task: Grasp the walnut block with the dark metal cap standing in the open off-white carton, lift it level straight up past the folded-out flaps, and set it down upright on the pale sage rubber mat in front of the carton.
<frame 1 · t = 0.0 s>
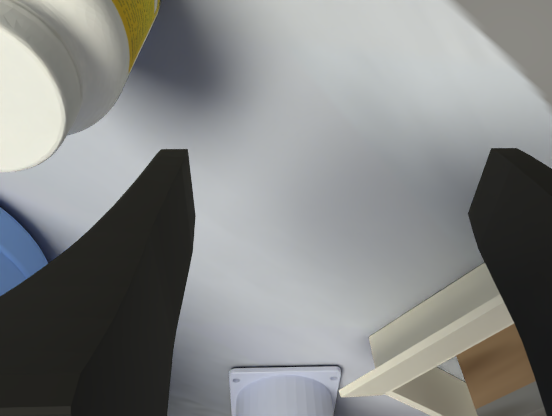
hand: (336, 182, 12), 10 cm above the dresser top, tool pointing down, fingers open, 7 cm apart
walnut block: (515, 373, 31), in the carton
carton: (495, 327, 33), on the dresser top
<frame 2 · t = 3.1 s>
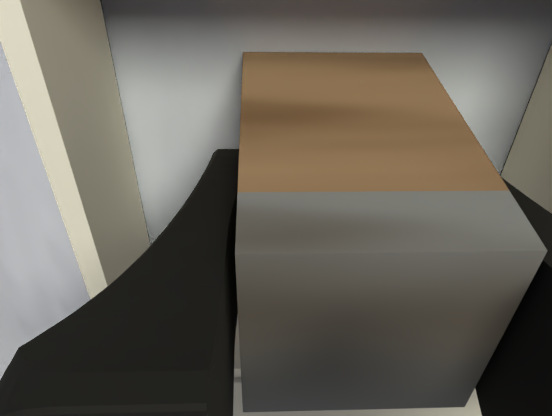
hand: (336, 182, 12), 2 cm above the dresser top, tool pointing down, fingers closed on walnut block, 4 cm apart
walnut block: (342, 211, 11), in the carton, touching gripper
carton: (325, 130, 14), on the dresser top
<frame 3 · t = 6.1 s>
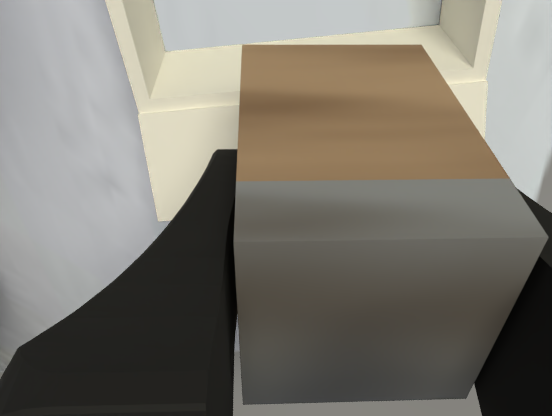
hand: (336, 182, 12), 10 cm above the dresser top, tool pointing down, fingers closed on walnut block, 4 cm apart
walnut block: (342, 203, 11), point 11 cm above the dresser top, touching gripper
when the fingers open (4 cm above the dresser top, at t = 9.0 s): walnut block drops 1 cm, resting on mat.
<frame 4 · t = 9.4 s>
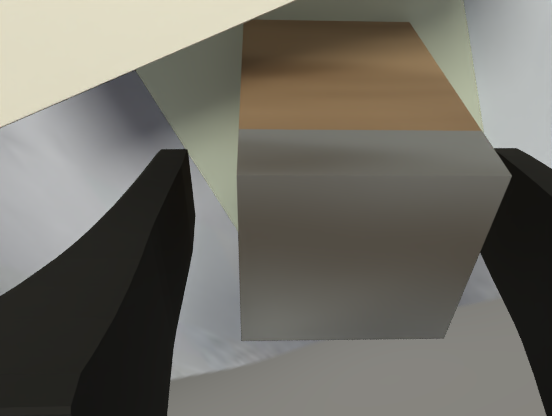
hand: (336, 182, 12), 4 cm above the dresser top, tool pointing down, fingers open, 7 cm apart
walnut block: (334, 164, 12), on the mat
mat: (319, 98, 15), on the dresser top
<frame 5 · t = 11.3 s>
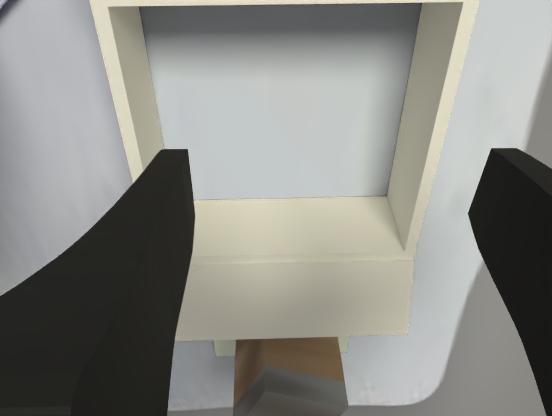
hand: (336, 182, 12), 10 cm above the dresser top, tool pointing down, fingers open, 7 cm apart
walnut block: (285, 360, 28), on the mat
mat: (281, 308, 31), on the dresser top
carton: (280, 102, 22), on the dresser top
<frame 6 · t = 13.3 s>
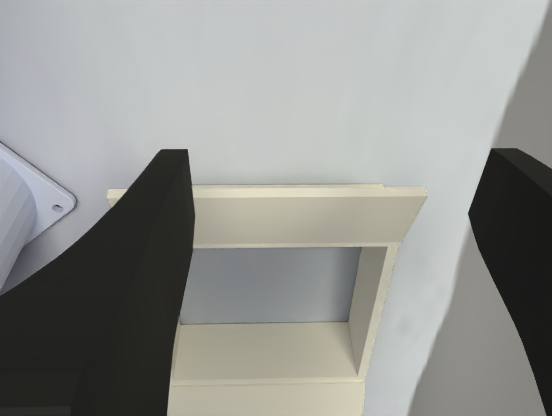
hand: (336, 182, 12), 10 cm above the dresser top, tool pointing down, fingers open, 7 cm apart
carton: (265, 265, 29), on the dresser top
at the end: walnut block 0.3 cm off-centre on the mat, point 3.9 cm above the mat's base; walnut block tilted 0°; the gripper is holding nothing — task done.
